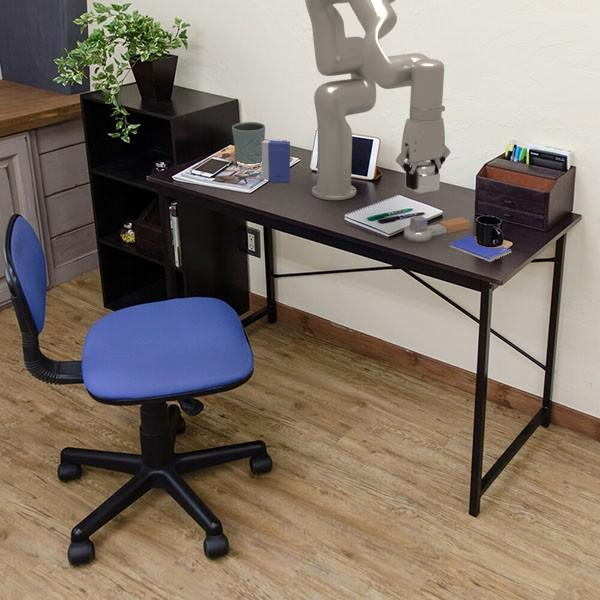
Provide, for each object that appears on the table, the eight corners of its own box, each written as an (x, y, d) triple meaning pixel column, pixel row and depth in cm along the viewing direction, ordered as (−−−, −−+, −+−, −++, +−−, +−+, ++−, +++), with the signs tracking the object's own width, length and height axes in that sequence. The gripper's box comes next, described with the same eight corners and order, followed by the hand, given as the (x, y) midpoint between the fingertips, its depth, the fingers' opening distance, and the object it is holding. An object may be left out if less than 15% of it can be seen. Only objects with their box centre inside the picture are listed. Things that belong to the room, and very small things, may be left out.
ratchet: (456, 222, 242) (458, 204, 240) (473, 230, 237) (475, 212, 235) (398, 234, 234) (399, 216, 232) (414, 244, 229) (415, 225, 227)
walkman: (290, 179, 273) (289, 140, 268) (288, 182, 270) (287, 142, 265) (264, 178, 274) (263, 138, 269) (262, 181, 272) (261, 141, 267)
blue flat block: (511, 249, 223) (471, 234, 232) (490, 257, 218) (449, 242, 227) (510, 255, 224) (470, 240, 232) (489, 263, 219) (449, 248, 228)
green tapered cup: (265, 169, 282) (264, 130, 277) (232, 169, 282) (231, 130, 276) (266, 158, 291) (265, 121, 286) (233, 159, 291) (232, 121, 286)
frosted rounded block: (404, 186, 228) (405, 163, 226) (424, 182, 231) (425, 159, 228) (419, 193, 223) (420, 169, 221) (439, 189, 226) (440, 166, 223)
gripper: (445, 105, 226) (441, 176, 234) (386, 114, 218) (383, 187, 226) (464, 112, 220) (459, 184, 228) (404, 121, 212) (401, 196, 220)
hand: (421, 185), depth 227 cm, fingers closed on frosted rounded block, 6 cm apart
